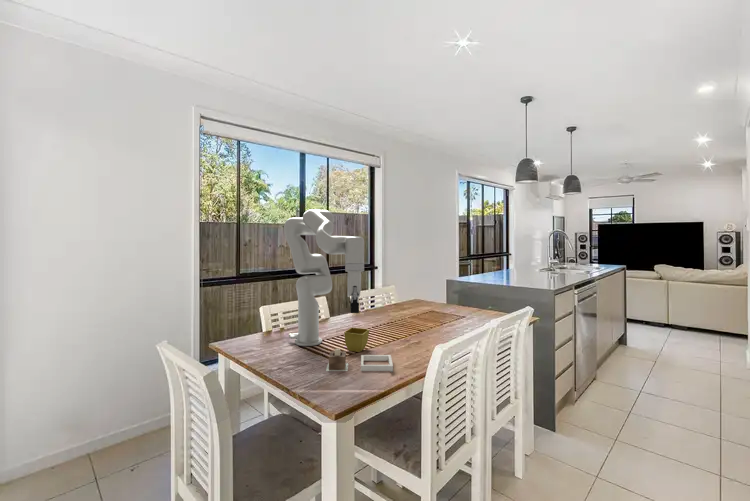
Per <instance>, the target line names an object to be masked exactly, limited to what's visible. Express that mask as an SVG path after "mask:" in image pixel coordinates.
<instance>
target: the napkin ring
mask: <svg viewBox="0 0 750 501" xmlns="http://www.w3.org/2000/svg"><path fill="white" fill-rule="evenodd" d="M346 354H347V352H346V351H340V356H335V351H330V352H329V355H328V363H329V370H345V365H346V362H347V360H346V358H347V357H346V356H347V355H346Z"/></svg>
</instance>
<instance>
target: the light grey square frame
mask: <svg viewBox="0 0 750 501" xmlns="http://www.w3.org/2000/svg"><path fill="white" fill-rule="evenodd" d="M392 359H393V358H392V355H391V354H361V355H360V372H390V373H394V365H393V364H394V363H393V360H392ZM364 361H367V362H368V361H369V362H370V361H371V362H373V361H375V362H376V361H377V362H379V361H382V362H384V361H385V362H386V361H387V362H388V364H364Z"/></svg>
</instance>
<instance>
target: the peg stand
mask: <svg viewBox="0 0 750 501" xmlns="http://www.w3.org/2000/svg"><path fill="white" fill-rule="evenodd" d="M334 352H335V356H340V352H341V349H340V348H334ZM348 369H349V363H348V362H347V363H346V365H345V370H329V362H328V363H327V365H326V369H325V372H348V371H349V370H348Z"/></svg>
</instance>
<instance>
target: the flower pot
mask: <svg viewBox="0 0 750 501" xmlns="http://www.w3.org/2000/svg"><path fill="white" fill-rule="evenodd" d="M369 333H370V329H367V328H361V327H360V328H359V327H350V328H348V329H347V330H345V331H344V333H343V334H344V342H345V347H346V349H347V350H348V351H350V352H357V353H360V352H362V351H364V349H365V348H366V346H367V344H368V341H369Z"/></svg>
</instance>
